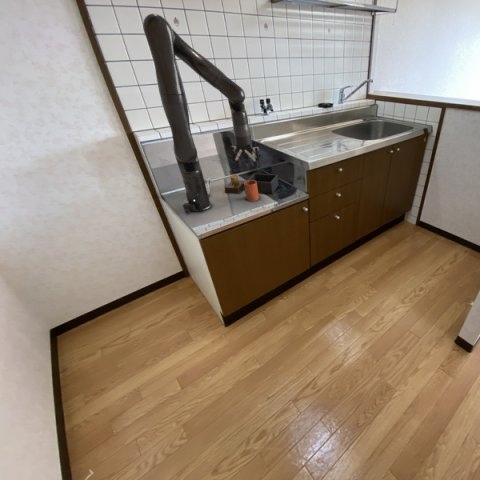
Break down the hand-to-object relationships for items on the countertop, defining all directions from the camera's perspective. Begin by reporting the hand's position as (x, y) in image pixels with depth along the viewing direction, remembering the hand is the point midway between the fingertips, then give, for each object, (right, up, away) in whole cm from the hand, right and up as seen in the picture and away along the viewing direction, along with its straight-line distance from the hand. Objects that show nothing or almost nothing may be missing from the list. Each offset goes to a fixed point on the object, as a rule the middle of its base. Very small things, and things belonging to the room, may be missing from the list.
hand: (247, 167), depth 135 cm
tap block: (-12, -7, +20) cm, 24 cm away
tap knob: (-12, -4, +18) cm, 22 cm away
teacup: (-28, -12, +13) cm, 33 cm away
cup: (0, -14, +10) cm, 17 cm away
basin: (+4, -7, +20) cm, 21 cm away
